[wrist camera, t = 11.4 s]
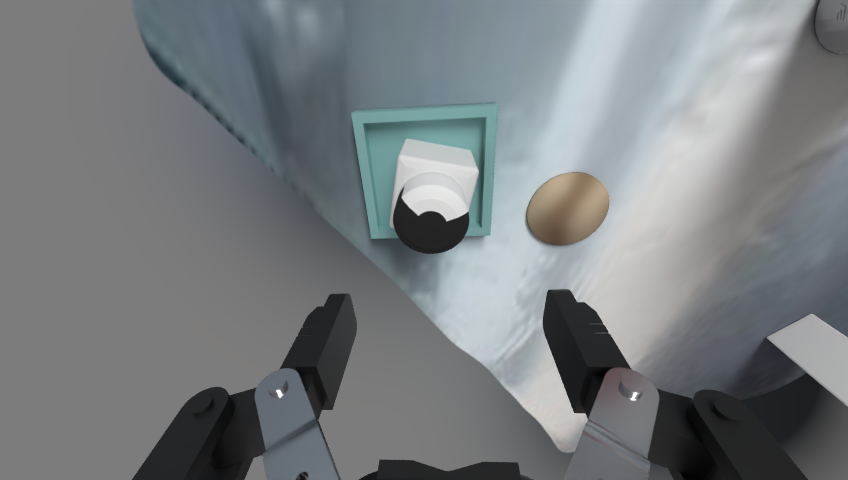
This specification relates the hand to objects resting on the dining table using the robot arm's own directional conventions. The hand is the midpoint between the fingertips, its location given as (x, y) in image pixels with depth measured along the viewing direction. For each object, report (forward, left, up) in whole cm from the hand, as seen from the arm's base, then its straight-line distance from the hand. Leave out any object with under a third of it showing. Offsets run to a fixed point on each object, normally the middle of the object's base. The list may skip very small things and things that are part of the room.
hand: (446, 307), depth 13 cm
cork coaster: (-14, +7, -24) cm, 29 cm away
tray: (+2, +2, -24) cm, 24 cm away
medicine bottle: (+1, +2, -24) cm, 24 cm away
